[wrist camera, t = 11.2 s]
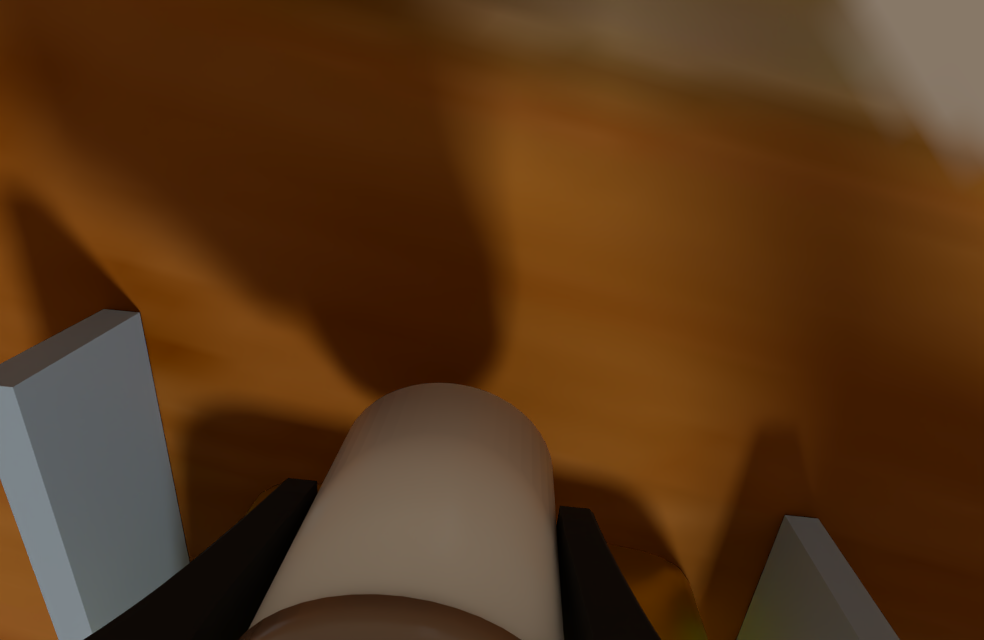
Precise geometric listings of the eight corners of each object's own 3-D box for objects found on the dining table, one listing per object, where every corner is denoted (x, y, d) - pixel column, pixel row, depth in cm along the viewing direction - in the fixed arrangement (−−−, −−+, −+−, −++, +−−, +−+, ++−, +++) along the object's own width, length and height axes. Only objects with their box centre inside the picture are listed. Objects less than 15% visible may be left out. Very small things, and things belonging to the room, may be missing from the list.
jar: (574, 394, 12) (617, 671, 6) (539, 567, 14) (548, 887, 8) (337, 365, 12) (171, 612, 6) (338, 541, 14) (216, 842, 8)
